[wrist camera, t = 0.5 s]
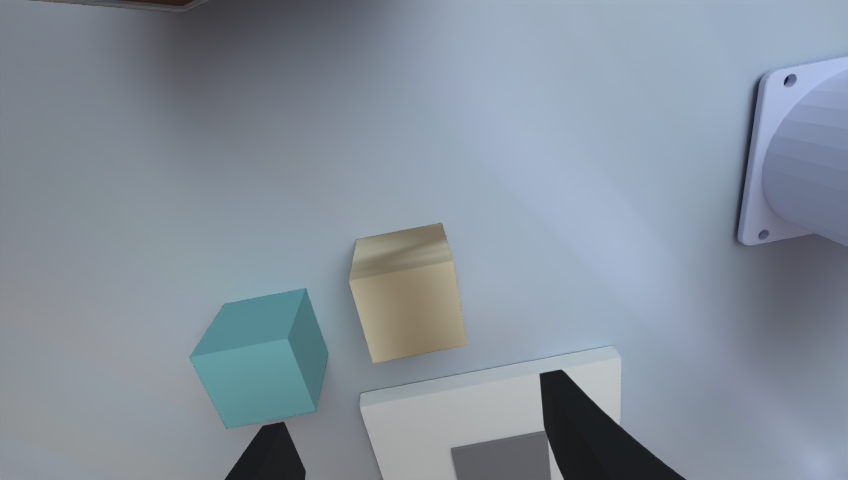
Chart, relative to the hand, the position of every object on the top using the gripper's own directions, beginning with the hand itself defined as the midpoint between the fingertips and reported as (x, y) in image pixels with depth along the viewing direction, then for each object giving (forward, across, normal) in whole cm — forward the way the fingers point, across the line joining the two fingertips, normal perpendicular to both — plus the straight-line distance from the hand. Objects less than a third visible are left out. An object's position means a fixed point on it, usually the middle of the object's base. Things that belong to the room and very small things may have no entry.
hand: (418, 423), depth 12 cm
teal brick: (+9, +7, +2) cm, 12 cm away
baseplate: (+9, -3, +14) cm, 17 cm away
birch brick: (+9, 0, 0) cm, 9 cm away
